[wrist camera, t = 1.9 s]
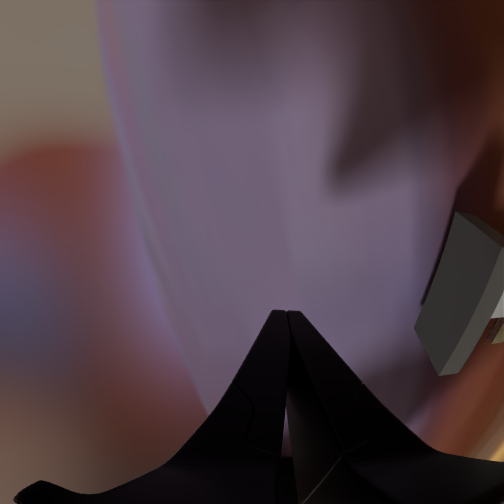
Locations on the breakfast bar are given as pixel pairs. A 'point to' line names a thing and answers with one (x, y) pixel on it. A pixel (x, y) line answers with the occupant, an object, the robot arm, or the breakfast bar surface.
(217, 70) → the breakfast bar surface
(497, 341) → the track
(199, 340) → the breakfast bar surface
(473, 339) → the thick grey end plate
